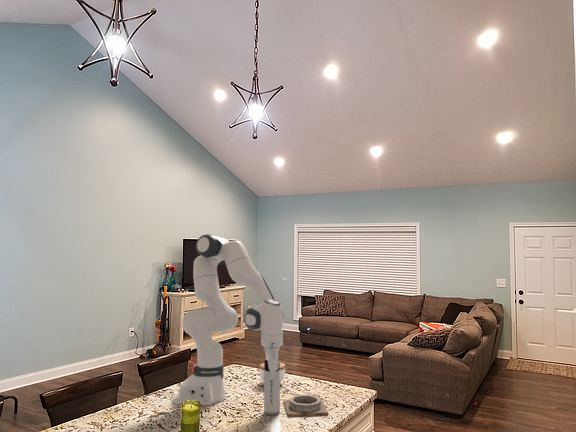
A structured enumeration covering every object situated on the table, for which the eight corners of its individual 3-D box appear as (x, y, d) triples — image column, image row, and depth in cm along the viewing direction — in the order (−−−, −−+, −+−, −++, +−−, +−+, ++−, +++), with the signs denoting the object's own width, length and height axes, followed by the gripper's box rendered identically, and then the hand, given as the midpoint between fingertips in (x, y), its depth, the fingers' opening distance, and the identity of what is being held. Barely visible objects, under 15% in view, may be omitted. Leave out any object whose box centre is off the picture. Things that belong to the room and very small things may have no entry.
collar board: (287, 416, 166) (287, 407, 166) (283, 402, 182) (283, 394, 182) (328, 415, 167) (328, 405, 168) (320, 401, 183) (320, 392, 184)
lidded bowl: (256, 381, 212) (257, 358, 213) (281, 379, 216) (281, 356, 217) (263, 389, 200) (263, 364, 201) (288, 386, 204) (288, 362, 205)
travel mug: (270, 408, 175) (270, 358, 177) (283, 412, 170) (282, 360, 172) (260, 412, 170) (260, 361, 172) (272, 416, 166) (272, 363, 168)
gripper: (282, 346, 163) (282, 383, 161) (277, 335, 183) (277, 369, 182) (265, 346, 162) (265, 383, 161) (262, 336, 182) (262, 369, 181)
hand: (271, 375), depth 171 cm, fingers closed on travel mug, 6 cm apart
